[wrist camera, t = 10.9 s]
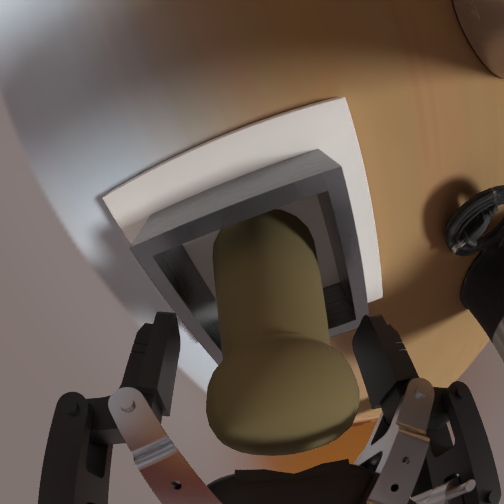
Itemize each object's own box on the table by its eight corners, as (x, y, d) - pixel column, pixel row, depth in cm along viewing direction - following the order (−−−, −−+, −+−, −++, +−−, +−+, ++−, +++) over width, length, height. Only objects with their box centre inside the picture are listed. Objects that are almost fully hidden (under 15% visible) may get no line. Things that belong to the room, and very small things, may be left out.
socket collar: (318, 148, 13) (341, 166, 10) (352, 286, 18) (369, 323, 15) (150, 214, 14) (129, 247, 11) (222, 327, 19) (220, 367, 16)
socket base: (337, 96, 12) (345, 97, 11) (377, 287, 19) (382, 297, 18) (110, 190, 15) (102, 197, 14) (210, 339, 22) (209, 351, 21)
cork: (292, 302, 18) (323, 464, 9) (203, 283, 17) (181, 460, 8) (331, 224, 15) (421, 401, 6) (227, 194, 14) (207, 402, 5)
